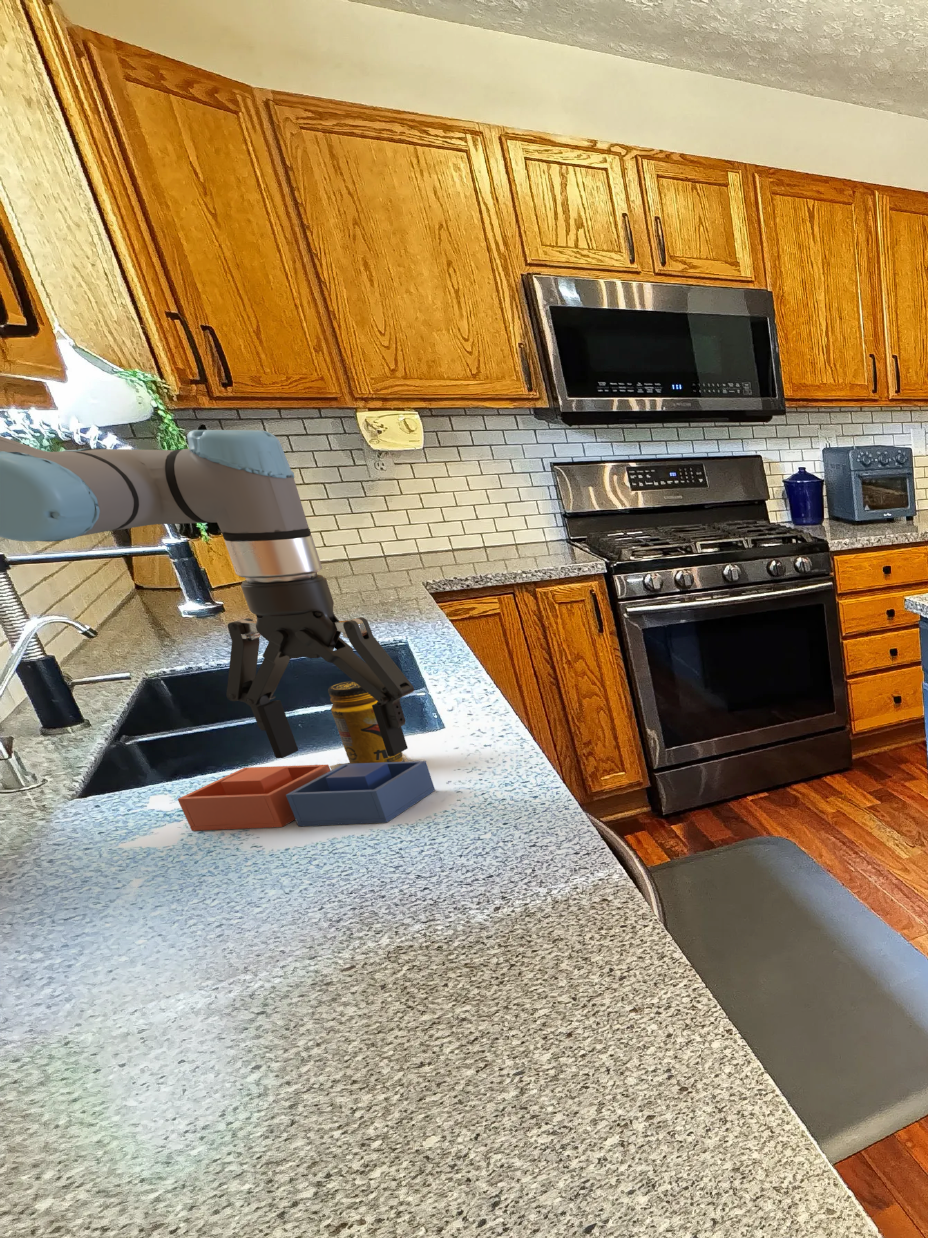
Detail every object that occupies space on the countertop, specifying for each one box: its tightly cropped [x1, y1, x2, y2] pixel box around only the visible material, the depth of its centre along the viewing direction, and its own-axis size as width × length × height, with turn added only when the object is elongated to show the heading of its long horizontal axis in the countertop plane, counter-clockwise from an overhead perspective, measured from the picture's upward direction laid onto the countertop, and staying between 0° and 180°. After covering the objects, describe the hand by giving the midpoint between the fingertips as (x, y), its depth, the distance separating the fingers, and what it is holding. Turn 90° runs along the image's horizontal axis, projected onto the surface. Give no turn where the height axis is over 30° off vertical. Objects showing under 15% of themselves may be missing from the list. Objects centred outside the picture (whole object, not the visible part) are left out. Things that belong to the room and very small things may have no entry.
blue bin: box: [286, 760, 436, 827], centre depth 108 cm, size 10×10×4 cm
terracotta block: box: [221, 766, 292, 795], centre depth 107 cm, size 4×4×4 cm
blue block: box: [326, 763, 392, 791], centre depth 108 cm, size 4×4×4 cm
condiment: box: [327, 680, 410, 770], centre depth 120 cm, size 7×8×12 cm
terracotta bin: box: [177, 764, 331, 832], centre depth 107 cm, size 10×10×4 cm
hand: (343, 753), depth 106 cm, fingers open, 12 cm apart
